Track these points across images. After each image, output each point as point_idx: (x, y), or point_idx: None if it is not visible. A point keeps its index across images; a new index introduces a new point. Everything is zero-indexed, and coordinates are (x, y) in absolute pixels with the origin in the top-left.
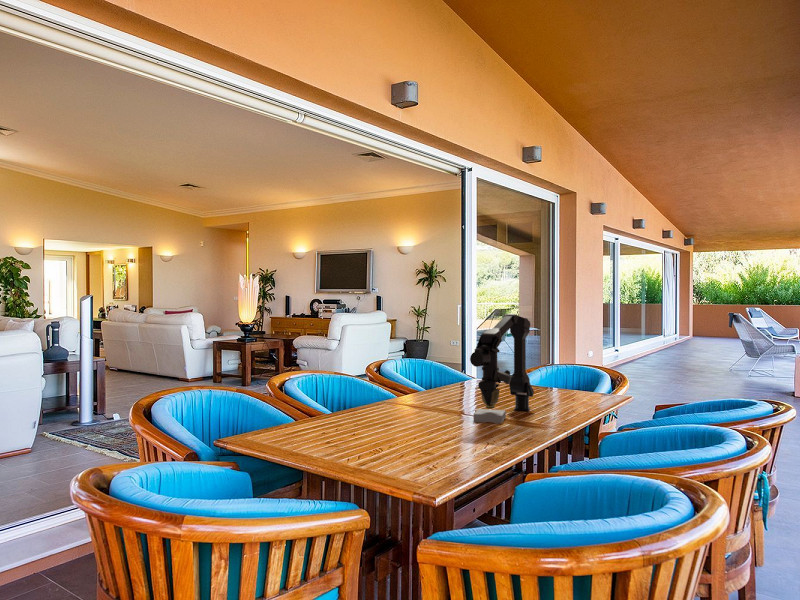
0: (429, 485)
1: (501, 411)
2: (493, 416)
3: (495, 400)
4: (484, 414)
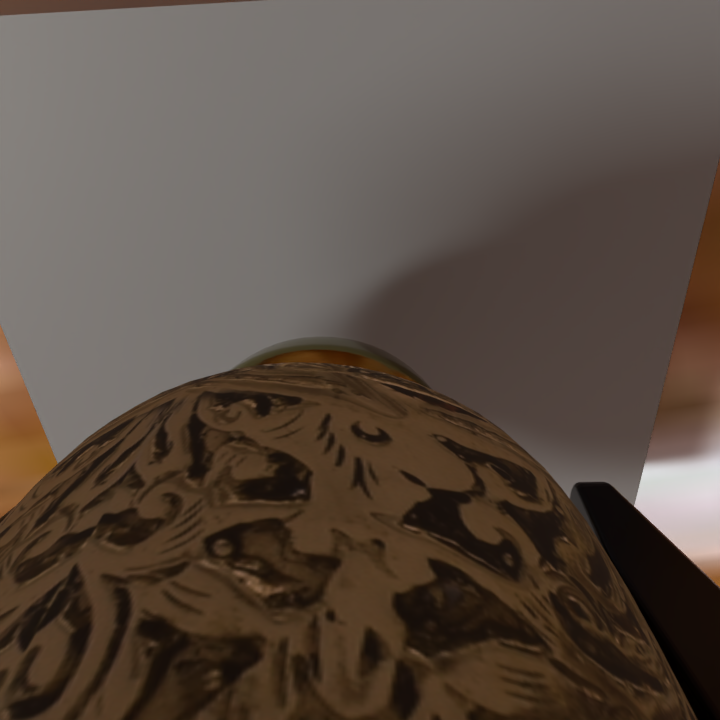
0: None
1: (105, 119)
2: (691, 212)
3: (517, 461)
4: (637, 414)
